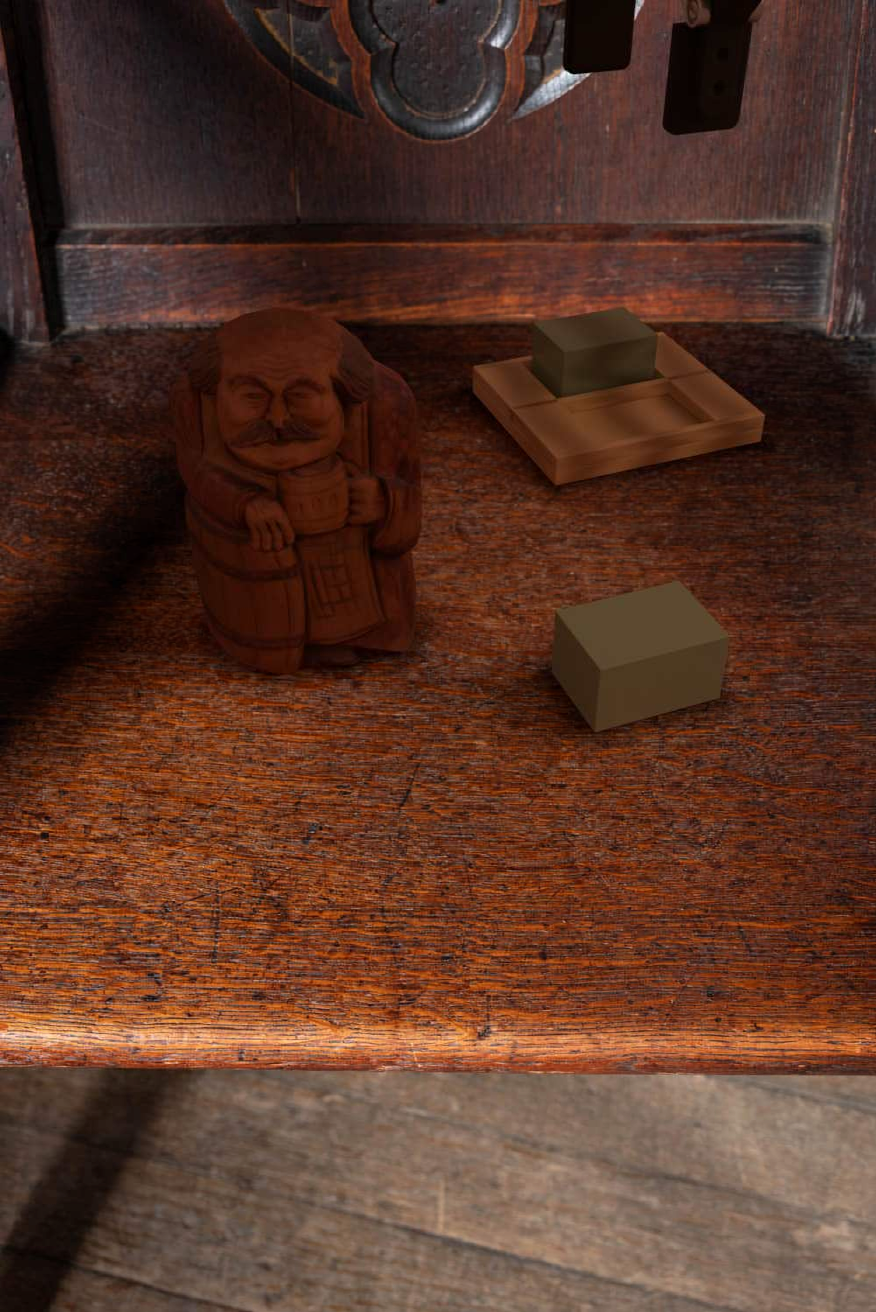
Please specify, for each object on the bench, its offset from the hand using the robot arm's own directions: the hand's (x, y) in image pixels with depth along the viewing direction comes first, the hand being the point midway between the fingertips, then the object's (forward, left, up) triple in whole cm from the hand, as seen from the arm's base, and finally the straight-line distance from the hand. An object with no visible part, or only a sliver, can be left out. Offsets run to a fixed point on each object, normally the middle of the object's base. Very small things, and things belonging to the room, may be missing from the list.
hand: (644, 98), depth 54 cm
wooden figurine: (+16, -2, -26) cm, 31 cm away
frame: (-10, -18, -26) cm, 33 cm away
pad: (+2, +8, -26) cm, 27 cm away
